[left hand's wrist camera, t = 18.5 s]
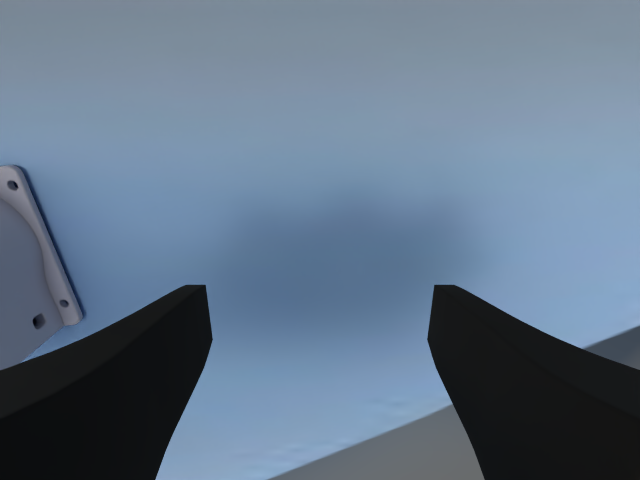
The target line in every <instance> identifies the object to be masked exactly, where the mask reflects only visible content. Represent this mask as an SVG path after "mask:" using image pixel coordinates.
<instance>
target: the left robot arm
mask: <svg viewBox="0 0 640 480" xmlns="http://www.w3.org/2000/svg"><path fill="white" fill-rule="evenodd" d="M14 182H16V183H17V185H18V188H16V187H15V185H14ZM64 300H66V301H67V302H68V303H69V304H68V303H66V302H65V301H64ZM82 318H83V315H82V312H81V310H80V307H79V305H78V302H77V300H76V298H75V295H74V293H73V291H72V288H71V286H70V283H69V281H68V279H67V276H66V274H65V272H64V269H63V267H62V264H61V262H60V260H59V257H58V255H57V253H56V250H55V248H54V245H53V243H52V241H51V238H50V236H49V233H48V231H47V229H46V226H45V224H44V222H43V219H42V217H41V214H40V212H39V210H38V207H37V205H36V203H35V200H34V198H33V195H32V193H31V191H30V188H29V186H28V183H27V181H26V179H25V176H24V174H23V172H22V171H21V169H19V168H18V167H16V166H14V165H7V166H0V480H155V479H156V476H157V473H158V471H159V468H160V465H161V462H162V459H163V457H164V454H165V451H166V449H167V446H168V444H169V442H170V439H171V437H172V435H173V432H174V430H175V428H176V426H177V424H178V422H179V420H180V418H181V416H182V414H183V411H184V409H185V407H186V405H187V403H188V401H189V399H190V397H191V395H192V393H193V390H194V388H195V386H196V384H197V382H198V380H199V378H200V375H201V373H202V371H203V369H204V366H205V363H206V360H207V357H208V354H209V350H210V347H211V343H212V340H213V339H212V331H211V323H210V315H209V308H208V300H207V292H206V285H185V286H182V287H180V288H178V289H176V290H174V291H172V292H170V293H169V294H167V295H165V296H163V297H161V298H160V299H158V300H156V301H154V302H153V303H151V304H149V305H147V306H145V307H144V308H142V309H140V310H138V311H137V312H135V313H133V314H131V315H129V316H127V317H125V318H123V319H121V320H120V321H118V322H116V323H114V324H112V325H110V326H108V327H106V328H104V329H102V330H100V331H98V332H96V333H94V334H92V335H90V336H87V337H85V338H83V339H81V340H79V341H76V342H74V343H72V344H69V345H67V346H64V347H62V348H60V349H57V350H55V351H52V352H50V353H47V354H44V355H41V356H39V357H36V358H33V359H30V360H28V361H25V362H22V361H23V360H24V359H25V358H26V357H28V356H29V355H30V354H31V353H32V352H34V351H35V350H36V349H37V348H38V347H39V346H41V345H42V344H43V343H44V342H45V341H47V340H48V339H49V338H50V337H51V336H53V335H54V334H55V333H56V332H57V331H59V330H60V329H61V328H62V327H63V326H67V325H75V324H77V323H79V322H80V321H81V320H82ZM427 340H428V343H429V347H430V350H431V354H432V357H433V360H434V363H435V366H436V369H437V371H438V373H439V375H440V378H441V380H442V382H443V384H444V386H445V388H446V390H447V393H448V395H449V397H450V399H451V401H452V403H453V405H454V407H455V409H456V411H457V414H458V416H459V418H460V420H461V422H462V424H463V426H464V428H465V430H466V432H467V434H468V437H469V439H470V442H471V444H472V446H473V449H474V451H475V454H476V457H477V459H478V462H479V465H480V468H481V471H482V473H483V476H484V479H485V480H640V370H638V369H635V368H632V367H629V366H626V365H624V364H621V363H618V362H615V361H612V360H609V359H606V358H604V357H601V356H598V355H596V354H593V353H591V352H588V351H586V350H583V349H581V348H578V347H576V346H574V345H571V344H569V343H567V342H564V341H562V340H559V339H557V338H555V337H553V336H551V335H548V334H546V333H544V332H542V331H540V330H538V329H536V328H534V327H532V326H530V325H528V324H526V323H524V322H522V321H520V320H518V319H517V318H515V317H513V316H511V315H509V314H507V313H505V312H504V311H502V310H500V309H498V308H496V307H495V306H493V305H491V304H489V303H488V302H486V301H484V300H482V299H481V298H479V297H477V296H475V295H473V294H472V293H470V292H468V291H466V290H464V289H462V288H460V287H458V286H455V285H434V292H433V300H432V308H431V315H430V323H429V331H428V339H427ZM20 362H22V363H20Z"/></svg>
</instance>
